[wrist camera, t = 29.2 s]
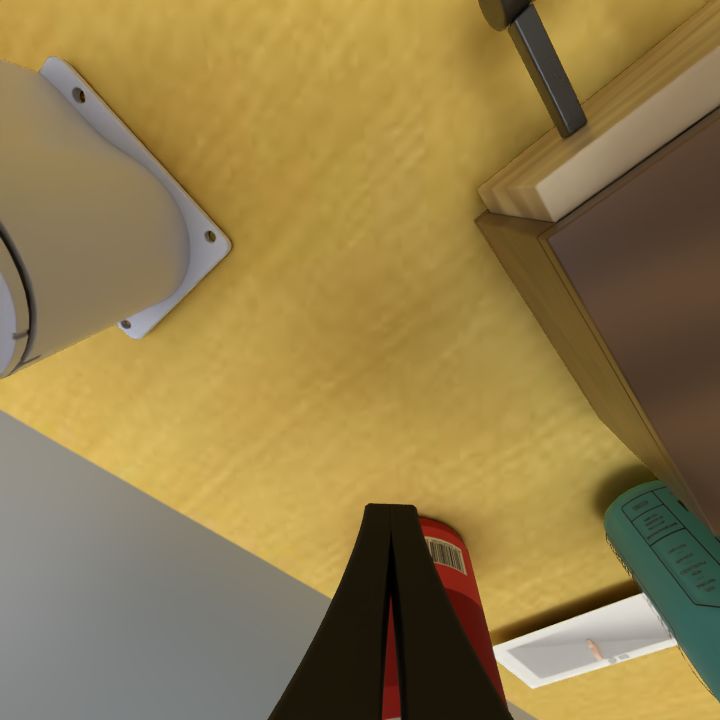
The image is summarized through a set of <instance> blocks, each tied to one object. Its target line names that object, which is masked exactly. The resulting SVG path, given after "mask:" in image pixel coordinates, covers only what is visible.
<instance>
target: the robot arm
mask: <svg viewBox="0 0 720 720" xmlns="http://www.w3.org/2000/svg"><path fill="white" fill-rule="evenodd" d="M81 91H83V92H84V94H85V102H82V101H81V99H80V92H81ZM209 231H212V232H213V233H214V234H215V237H216V239H215V241H214V242H213V241H211V240H210V239H209V237H208V233H209ZM230 250H231V242H230V240H229V239H228V237H227V236H226V235H225V234H224V233H223V232H222V231H221V230H220V228H219V227H218V226H217V225H216V224H215V223H214V222H213V221H212V220H211V219H210V217H209V216H208V215H207V214H206V213H205V212H204V211H203V210H202V209H201V208H200V206H199V205H198V204H197V203H196V202H195V201H194V200H193V199H192V198H191V197H190V195H189V194H188V193H187V192H186V191H185V190H184V189H183V188H182V187H181V186H180V184H179V183H178V182H177V181H176V180H175V179H174V178H173V177H172V176H171V175H170V174H169V172H168V171H167V170H166V169H165V168H164V167H163V166H162V165H161V164H160V163H159V161H158V160H157V159H156V158H155V157H154V156H153V155H152V154H151V153H150V152H149V150H148V149H147V148H146V147H145V146H144V145H143V144H142V143H141V142H140V141H139V139H138V138H137V137H136V136H135V135H134V134H133V133H132V132H131V131H130V130H129V128H128V127H127V126H126V125H125V124H124V123H123V122H122V121H121V120H120V119H119V117H118V116H117V115H116V114H115V113H114V112H113V111H112V110H111V109H110V108H109V107H108V105H107V104H106V103H105V102H104V101H103V100H102V99H101V98H100V97H99V96H98V94H97V93H96V92H95V91H94V90H93V89H92V88H91V87H90V86H89V85H88V83H87V82H86V81H85V80H84V79H83V78H82V77H81V76H80V75H79V74H78V72H77V71H76V70H75V69H74V68H73V67H72V66H71V65H70V64H69V63H68V62H67V61H65V60H63V59H61V58H58V57H55V56H51V57H49V58H48V59H47V60H46V61H45V63H44V65H43V66H42V68H41V70H40V71H39V72H36V71H33V70H31V69H28V68H25V67H22V66H20V65H17V64H14V63H11V62H8V61H6V60H3V59H0V380H1V379H3V378H5V377H7V376H10V375H12V374H14V373H16V372H18V371H20V370H22V369H24V368H26V367H28V366H30V365H32V364H34V363H36V362H38V361H41V360H43V359H45V358H47V357H49V356H51V355H53V354H55V353H57V352H59V351H61V350H63V349H65V348H67V347H69V346H71V345H74V344H76V343H78V342H80V341H82V340H84V339H86V338H88V337H90V336H92V335H94V334H96V333H98V332H100V331H102V330H105V329H107V328H109V327H111V326H113V325H115V324H116V325H117V326H118V327H119V328H120V329H121V330H123V331H124V332H125V333H126V334H127V335H128V336H129V337H131V338H133V339H141V338H142V337H144V336H146V335H147V334H148V333H149V332H150V331H151V330H152V329H153V328H154V327H155V326H156V325H157V324H158V323H159V322H160V321H161V320H162V319H163V318H164V317H165V316H166V315H167V314H168V313H169V312H170V311H171V310H172V309H173V308H174V307H175V306H176V305H177V304H178V303H179V302H180V301H181V300H182V299H183V298H184V297H185V296H186V295H187V294H188V293H189V292H190V291H191V290H192V289H193V288H194V287H195V286H196V285H197V284H198V283H199V282H200V281H201V280H202V279H203V278H204V277H205V276H206V275H207V274H208V273H209V272H210V271H211V270H212V269H213V268H214V267H215V266H216V265H217V264H218V263H219V262H220V261H221V260H222V259H223V258H224V257H225V256H226V255H227V254H228V253H229V252H230ZM126 320H127V321H129V322H130V324H131V326H129V325H128V324H127V323H126ZM390 598H391V603H392V615H393V627H394V639H395V650H396V662H397V674H398V686H399V697H400V715H401V720H514V719H513V717H512V716H511V714H510V712H509V711H508V709H507V707H506V705H505V704H504V702H503V700H502V698H501V697H500V695H499V693H498V692H497V690H496V688H495V686H494V685H493V683H492V681H491V679H490V677H489V676H488V674H487V672H486V670H485V668H484V666H483V665H482V663H481V661H480V659H479V657H478V655H477V654H476V652H475V650H474V648H473V646H472V644H471V642H470V640H469V638H468V636H467V634H466V632H465V630H464V628H463V626H462V624H461V622H460V620H459V618H458V616H457V614H456V612H455V610H454V608H453V605H452V603H451V601H450V599H449V597H448V595H447V592H446V590H445V588H444V585H443V583H442V581H441V578H440V576H439V574H438V571H437V569H436V567H435V564H434V562H433V559H432V557H431V554H430V551H429V548H428V546H427V543H426V540H425V537H424V534H423V531H422V528H421V524H420V521H419V517H418V513H417V508H416V507H415V506H414V505H402V504H373V503H369V504H368V505H366V506H365V510H364V516H363V520H362V524H361V527H360V531H359V534H358V537H357V540H356V543H355V546H354V549H353V552H352V554H351V557H350V559H349V562H348V564H347V567H346V569H345V572H344V574H343V577H342V579H341V582H340V584H339V586H338V588H337V591H336V593H335V595H334V597H333V599H332V602H331V604H330V606H329V608H328V610H327V612H326V615H325V617H324V619H323V621H322V623H321V625H320V627H319V629H318V631H317V633H316V635H315V637H314V639H313V641H312V643H311V644H310V646H309V648H308V650H307V652H306V654H305V656H304V658H303V659H302V661H301V663H300V665H299V667H298V668H297V670H296V672H295V674H294V675H293V677H292V679H291V681H290V682H289V684H288V686H287V688H286V690H285V691H284V693H283V695H282V696H281V698H280V700H279V702H278V703H277V705H276V706H275V708H274V710H273V711H272V713H271V715H270V716H269V718H268V720H382V715H383V694H384V680H385V666H386V653H387V639H388V625H389V612H390Z"/></svg>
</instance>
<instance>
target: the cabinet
mask: <svg viewBox="0 0 720 720" xmlns="http://www.w3.org/2000/svg"><path fill="white" fill-rule="evenodd" d="M474 222H475V224H476V225H477V227H478V228H479V230H480V231H481V233H482V235H483V236H484V238H485V239H486V241H487V242H488V244H489V246H490V247H491V249H492V250H493V252H494V253H495V255H496V257H497V258H498V260H499V261H500V263H501V264H502V266H503V268H504V269H505V271H506V272H507V274H508V275H509V277H510V279H511V280H512V282H513V283H514V285H515V286H516V288H517V290H518V291H519V293H520V294H521V296H522V297H523V299H524V301H525V302H526V304H527V305H528V307H529V308H530V310H531V312H532V313H533V315H534V316H535V318H536V320H537V321H538V323H539V324H540V326H541V327H542V329H543V331H544V332H545V334H546V335H547V337H548V338H549V340H550V342H551V343H552V345H553V346H554V348H555V349H556V351H557V353H558V354H559V356H560V357H561V359H562V360H563V362H564V364H565V365H566V367H567V368H568V370H569V371H570V373H571V375H572V376H573V378H574V379H575V381H576V382H577V384H578V386H579V387H580V389H581V390H582V392H583V393H584V395H585V397H586V398H587V400H588V401H589V403H590V404H591V406H592V408H593V409H594V411H595V412H596V414H597V415H598V417H599V419H600V420H601V421H602V422H603V423H605V425H606V426H607V427H608V428H609V429H610V430H611V431H612V432H613V433H614V434H615V435H616V436H617V437H618V438H619V439H620V440H621V441H622V442H623V443H624V444H625V445H626V446H627V447H628V448H629V449H630V450H631V451H632V452H633V453H634V454H635V455H636V456H637V457H638V458H639V459H640V460H641V461H642V462H643V463H644V464H645V465H646V466H647V467H648V468H649V469H650V470H651V471H652V472H653V473H654V474H655V475H656V476H657V478H658V479H659V480H660V481H661V482H662V483H663V484H664V485H665V486H666V487H667V488H668V489H669V490H670V491H671V492H672V493H673V494H674V495H675V496H676V497H677V498H678V499H679V500H680V501H681V502H682V503H683V504H684V505H685V506H686V507H687V508H688V509H689V510H690V511H691V512H692V513H693V514H694V515H695V516H696V517H697V518H698V519H699V520H700V521H701V522H703V524H704V525H705V526H706V527H707V528H708V529H709V530H710V531H711V532H712V533H713V534H714V535H715V536H719V535H720V108H719V109H717V110H716V111H714V112H713V113H712V114H710V115H709V116H707V117H706V118H705V119H703V120H702V121H700V122H699V123H698V124H696V125H695V126H693V127H692V128H691V129H689V130H688V131H686V132H685V133H684V134H682V135H681V136H679V137H678V138H676V139H675V140H674V141H672V142H671V143H669V144H668V145H667V146H665V147H664V148H662V149H661V150H660V151H658V152H657V153H655V154H654V155H653V156H651V157H650V158H648V159H647V160H646V161H644V162H643V163H641V164H640V165H639V166H637V167H636V168H634V169H633V170H631V171H630V172H629V173H627V174H626V175H624V176H623V177H622V178H620V179H619V180H617V181H616V182H615V183H613V184H612V185H610V186H609V187H608V188H606V189H605V190H603V191H602V192H601V193H599V194H598V195H596V196H595V197H593V198H592V199H591V200H589V201H588V202H586V203H585V204H584V205H582V206H581V207H579V208H578V209H577V210H575V211H574V212H572V213H571V214H570V215H568V216H567V217H565V218H564V219H563V220H561V221H560V222H558V223H557V224H556V223H551V222H545V221H539V220H532V219H526V218H520V217H513V216H507V215H500V214H494V213H490V211H489V209H488V210H486V211H485V212H484V213H482V214H481V215H480V216H479V217H477V218H476V219H475V220H474Z"/></svg>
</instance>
